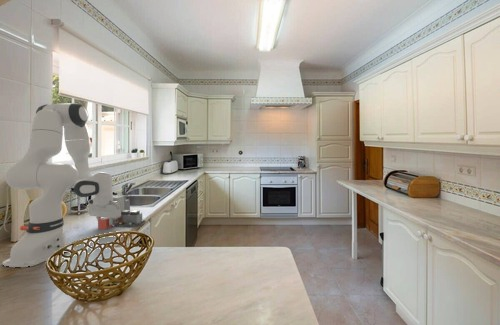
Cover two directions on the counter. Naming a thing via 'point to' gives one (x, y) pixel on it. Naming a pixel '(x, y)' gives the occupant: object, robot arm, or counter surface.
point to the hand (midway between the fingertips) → (105, 224)
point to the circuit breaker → (121, 203)
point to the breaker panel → (129, 220)
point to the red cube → (103, 223)
